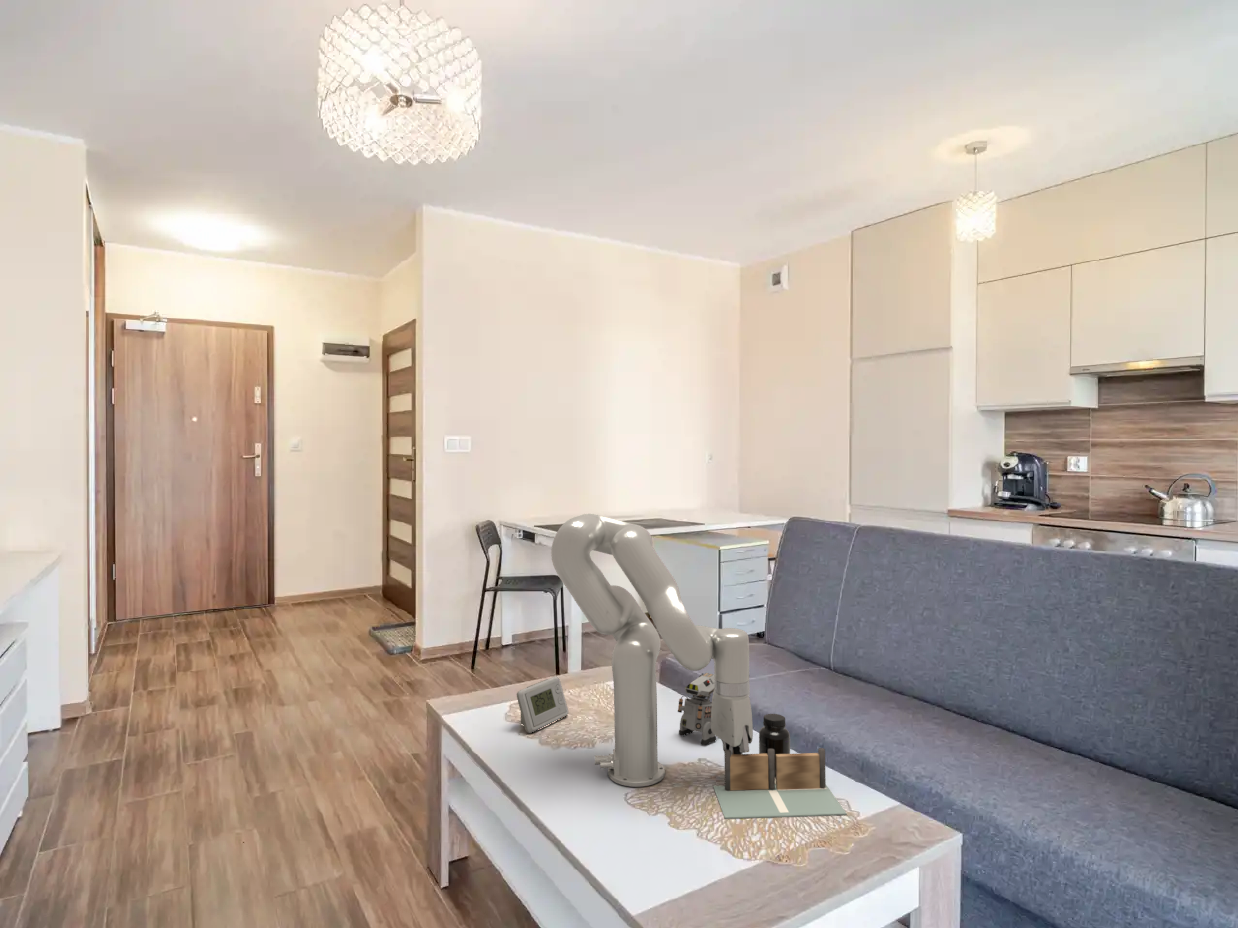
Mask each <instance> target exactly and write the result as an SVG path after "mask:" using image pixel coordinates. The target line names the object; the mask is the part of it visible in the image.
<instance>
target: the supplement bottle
mask: <svg viewBox="0 0 1238 928" xmlns="http://www.w3.org/2000/svg"><path fill="white" fill-rule="evenodd" d="M762 725H763V726H762V727H761V728H760V730H759V732H758V754H767V755H768V749H774V750H775V777H776V754H791V735H790V731H789V730H788V729H787V728H786V726H787V725H786V717H785V716H784V715H782V714H779V713H768V714H764V716H763V722H762Z"/></svg>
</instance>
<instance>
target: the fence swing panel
mask: <svg viewBox="0 0 1238 928" xmlns="http://www.w3.org/2000/svg"><path fill="white" fill-rule="evenodd" d="M723 753H724V756H723V757H724V786H725V790H728V791H730V790H758V789H768V788H769V789H775V784H776V776H775V750H774V749H768V755H767V754H759V753H743V754H731V750H725V751H724V750H723Z"/></svg>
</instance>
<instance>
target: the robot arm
mask: <svg viewBox="0 0 1238 928" xmlns="http://www.w3.org/2000/svg"><path fill="white" fill-rule="evenodd" d="M551 544H552V545H551V549H550V550H551V552H550V554H551V561H552V565H553V567H554V570H555V573H556V574H557V575H558V577H559V579H560V581H562V584H563V585H564V586H565V588H566V589H567V591H568V592H569V593H570V595H571V597H572V598H573V600H574V601H575V603H576V605H577V606H578V607H579V608H580V610H581V612H582V613H583V615H584V616H585V618H586V619H587V620H588V622H589V624H590V626H591V627H592V628H593V629H594V630H595V631H596V632H597V633H599V634H601V635H605V636H606V635H607V636H610V635H612V637H613V638H614V639H615V641H616V642H615V644H614V647H613V650H612V654H611V655H612V656H611V670H612V681H613V705H614V706H613V707H614V711H613V712H614V719H613V720H614V749H613V750H612V753H608V755H602V754H601V755H594V765H595V766H596V765H599V766H600V767H599V769H607V775H608V777H609V779H610V780H611V781H613V782H614V783H616V784H619V785H620V786H621V785H622V786H626V787H634V788H635V787H636V788H639V787H640V788H641V787H648V786H652V785H655V784H657V783H659V782H660V781H662V780H663V779H664V777H665V775H666V773H665V772H666V771H665V767H664V765H663V764H662V763H661V762H659V760H658V695H657V693H658V692H657V691H658V690H657V675H656V673H657V672H656V671H657V670H656V666H657V665H656V664H657V659H658V656H659V654H660V651H661V646H662V643H661V639H662V641H663V642H664V644H665V645H666V646H667V649H669V651H670V652H671V655H673V657H674V659H676V661H677V662H678V663H679V664H680V666H682V667H683V668H685V669H686V670H688V671H693V672H697V671H702V670H703V669H705V668H707V666H708V665H709V664H710V663H711V661H712V660H713V668H714V669H713V671H714V672H713V674H714V685H715V689H714V692H713V693H712V696H711V697H712V699H711V702H712V707H711V731H712V733H713V734H714V735H715V736H716V738H718V739H720V740H721V742H722V750H723V752H724V751H725V750H731V754H747V753H749V752H750V746H749V745H750V744H752V742H753V739H754V738H753V737H754V736H753V735H754V734H753V733H754V728H753V723H754V722H753V714H752V704H751V698H750V695H751V694H750V687H751V686H750V641H749V639H750V638H749V634H748V633H747V631H745V630H743V629H740V628H736V627H735V628H732V627H729V628H728V627H725V628H716V627H710V626H706V625H696V624H695V623H694V622H693V620H692V619H691V617H690V615H689V613H688V611H687V609H686V607H685V605H684V603H683V600H682V596H681V592H680V589H679V586H678V584H677V583H678V582H677V581H676V580H675V578H674V576H673V575H672V573H671V572H670V570H669V569H668V567H667V566H666V565H665V562H664V561H662V559H661V557H660V555H658V553H657V551H656V550H655V549H654V547H653V538H652V535H651V534H650V532H649V530H647V529H646V527H644V526H642V525H639V524H635V523H631V522H626V521H623V520H622V521H621V520H618V519H614V518H612V517H611V518H610V517H607V516H603V515H599V514H594V513H586V514H585V513H584V514H581V515H577V516H574V517H571V518H569V519H568V520H566V521H565V522H564V523H563V524H562V525H561V526H560V527H559V529H558V530H557V531H556V534H555V536H554V538H553V540H552V543H551ZM591 551H595V552H599V553H604V554H607V555H611V556H613V559H614V560H615V562H616V563H617V565H618V566H619V567H620V569H621V570H622V572H623V574H624V575H625V577H626V578H627V579H628V581H629V582H630V583H631V586H632V587H633V588H634V590H635V592H636V593H637V595H638V596H639V597H640V599H641V600H642V602H643V603H644V606H645V608H646V611H647V613H648V615H649V617H650V618H651V620H652V621H651V620H650V619H649V617H648V615H647V614H646V612H644V610H643V608H642V607H641V606H640V604H639V603H638V601H637V600H636V598H635V597H634V596H633V595H632V594H631V593H630V592H629V591H628V590H627V589H626V588H625V587H622V586H620V585H613V584H612V585H611V584H610V582H609V580H607V578H606V577H605V575H604V573H603V572H602V570H601V569H600V568H599V566H598V565H597V564H596V563H595V562H594V561H593V559H592V558H591ZM652 622H653V623H652ZM653 624H654V625H653Z"/></svg>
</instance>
